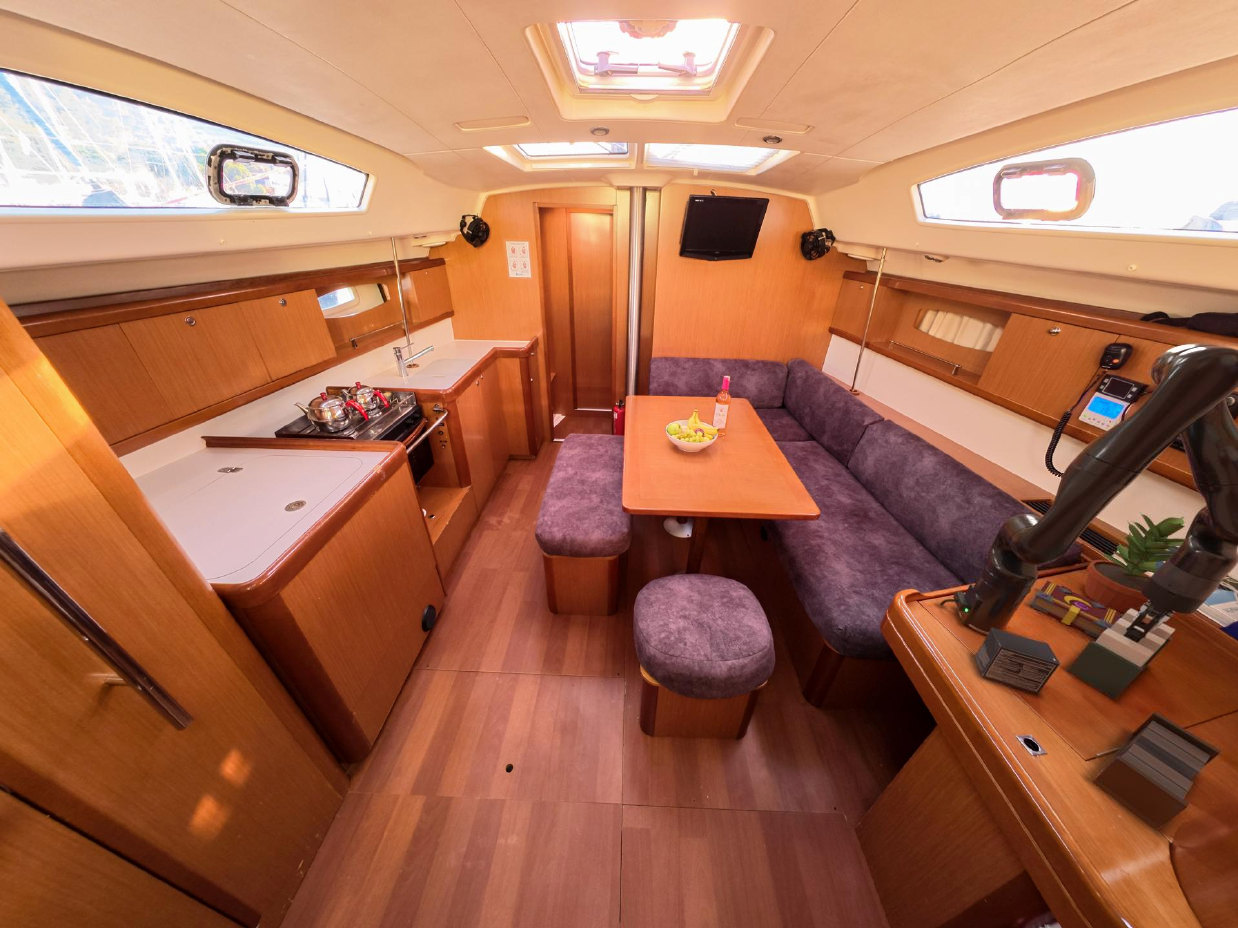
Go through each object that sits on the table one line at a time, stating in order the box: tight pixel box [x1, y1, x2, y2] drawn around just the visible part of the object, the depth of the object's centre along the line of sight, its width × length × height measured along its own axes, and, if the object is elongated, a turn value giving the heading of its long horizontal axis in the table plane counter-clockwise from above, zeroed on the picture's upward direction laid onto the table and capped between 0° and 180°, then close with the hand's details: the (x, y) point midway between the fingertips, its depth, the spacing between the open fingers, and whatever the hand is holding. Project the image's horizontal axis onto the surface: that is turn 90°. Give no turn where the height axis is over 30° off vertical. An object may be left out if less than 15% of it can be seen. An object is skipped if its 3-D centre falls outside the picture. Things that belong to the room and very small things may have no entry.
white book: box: [1111, 618, 1166, 667], centre depth 93 cm, size 3×7×12 cm, turn 26°
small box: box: [973, 628, 1061, 696], centre depth 92 cm, size 11×6×10 cm, turn 65°
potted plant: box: [1084, 513, 1185, 614], centre depth 111 cm, size 15×15×30 cm
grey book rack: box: [1092, 711, 1222, 831], centre depth 74 cm, size 20×8×8 cm, turn 116°
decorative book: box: [1029, 580, 1122, 640], centre depth 110 cm, size 11×16×5 cm
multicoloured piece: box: [1066, 608, 1176, 700], centre depth 94 cm, size 20×8×13 cm, turn 116°
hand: (1131, 638), depth 92 cm, fingers open, 7 cm apart
